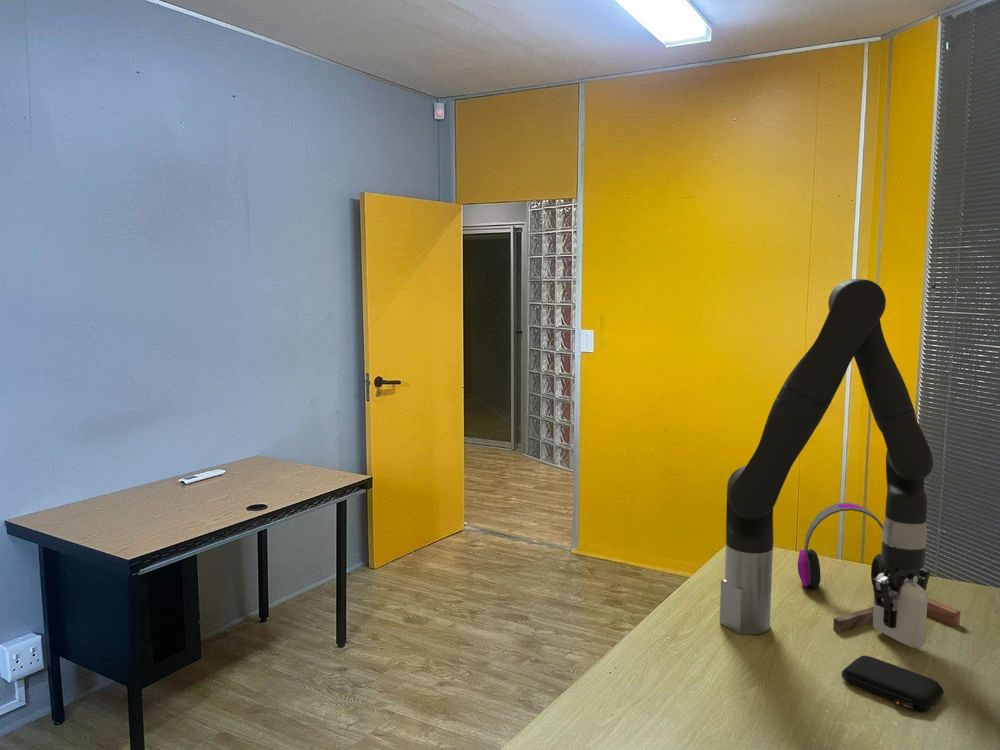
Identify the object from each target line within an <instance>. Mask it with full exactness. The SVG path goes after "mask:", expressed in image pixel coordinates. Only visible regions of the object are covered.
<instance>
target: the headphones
mask: <svg viewBox="0 0 1000 750" xmlns="http://www.w3.org/2000/svg"><path fill="white" fill-rule="evenodd" d="M845 511H849V512H850V511H854V512H859V513H863V514H865V515H867V516H869V517H871V518H872V519H874V521H876V523H878V525H879V527H880V529H881V530H882V532H883V524H882V522H881V521H880V520H879V518H878V517H876V516H875V515H874V514H873V513H872V512H871V511H870V510H868V509H867V508H866V507H863V506H862V505H859V504H857V503H851V502H839V503H835V504H831V505H829V506H827V507H825V508H823V510H821V511H820V512H819V513H818V514H816V516H815V517H814V519H813V520H812V522H811V523H810V525H809V526H808V528H807V532H806V534H805V540H804V546H803V548H804V549H800V550H799V554H798V559H797V572H798V576H799V579H800V581H801V584H802V587H804V588H808V586H810V587H811V588H813V589H816V588H818V587H819V586H820V583H821V564H820V560H819V555H818V553H817V551H815V550H814V548H813V549H812V548H809V545H810V544H809V543H810V539H811V537H812V535H813V533H814V532H815V529H816V528H817V527H818V526H819V524H820V523H822V522H823V521H824V520H825V519H827V518H828V517H829V516H831V515H833V514H836V513H840V512H845ZM870 567H871V569H870V579H871V584H872V586H873V583H872V581H873V579H874V578H876V577H877V576H878V575H879V574H880V573H884V572H885V568H886V566H885V564H884V563H883V562H882V560H881V553H877V554H876V555H875V556H874V558H873V560H872V562H871V566H870Z"/></svg>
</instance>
